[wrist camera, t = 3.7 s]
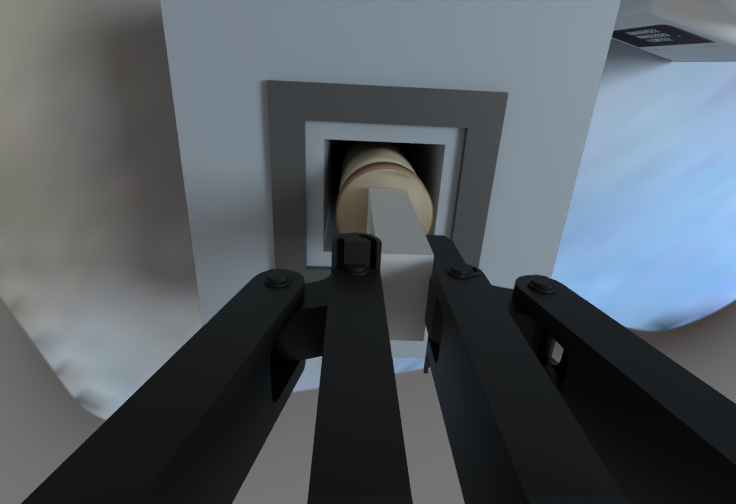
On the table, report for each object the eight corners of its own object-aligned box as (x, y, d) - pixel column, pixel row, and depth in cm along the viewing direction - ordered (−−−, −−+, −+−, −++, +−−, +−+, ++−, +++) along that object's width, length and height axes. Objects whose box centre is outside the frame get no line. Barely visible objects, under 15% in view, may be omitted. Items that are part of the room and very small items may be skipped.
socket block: (227, -3, 25) (149, -45, 15) (527, 15, 26) (630, -14, 16) (248, 271, 32) (203, 358, 23) (481, 278, 33) (533, 364, 23)
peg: (342, 132, 25) (336, 165, 17) (410, 135, 25) (438, 169, 17) (340, 199, 27) (334, 259, 18) (404, 201, 27) (427, 262, 19)
